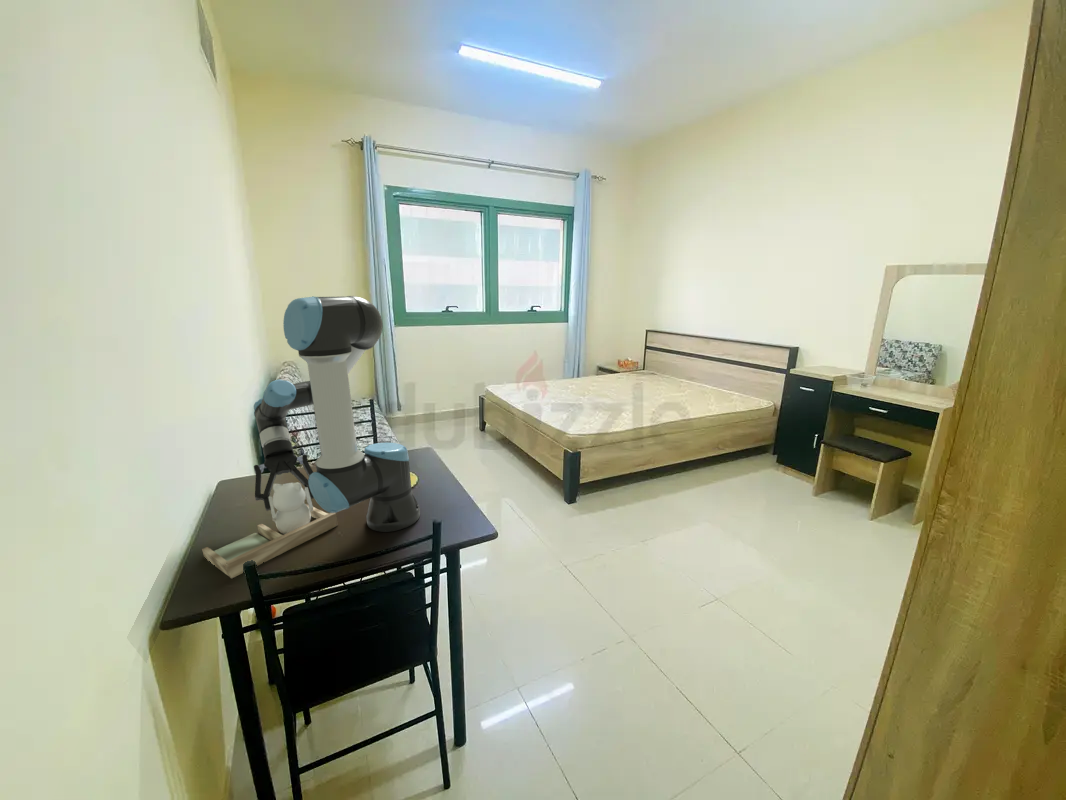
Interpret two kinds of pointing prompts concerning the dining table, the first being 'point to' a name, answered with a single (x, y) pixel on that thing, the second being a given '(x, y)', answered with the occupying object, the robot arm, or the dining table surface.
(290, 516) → the cat figurine
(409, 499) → the robot arm
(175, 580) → the dining table surface
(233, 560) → the organizer
